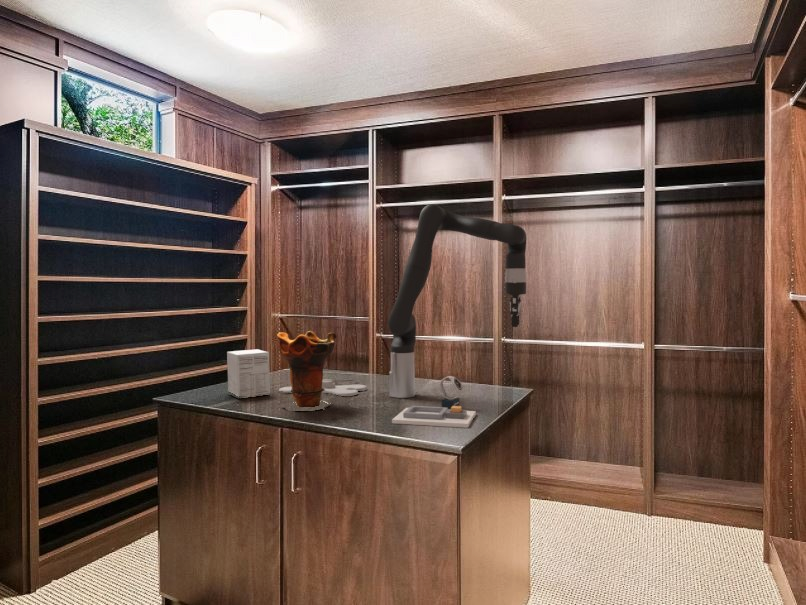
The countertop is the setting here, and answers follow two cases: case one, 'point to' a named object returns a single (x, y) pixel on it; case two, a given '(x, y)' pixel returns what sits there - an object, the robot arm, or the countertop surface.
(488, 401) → the countertop surface
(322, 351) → the decorative vase
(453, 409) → the button
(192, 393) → the countertop surface
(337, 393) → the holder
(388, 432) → the countertop surface
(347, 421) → the countertop surface
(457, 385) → the watch
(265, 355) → the supplement box
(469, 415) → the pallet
